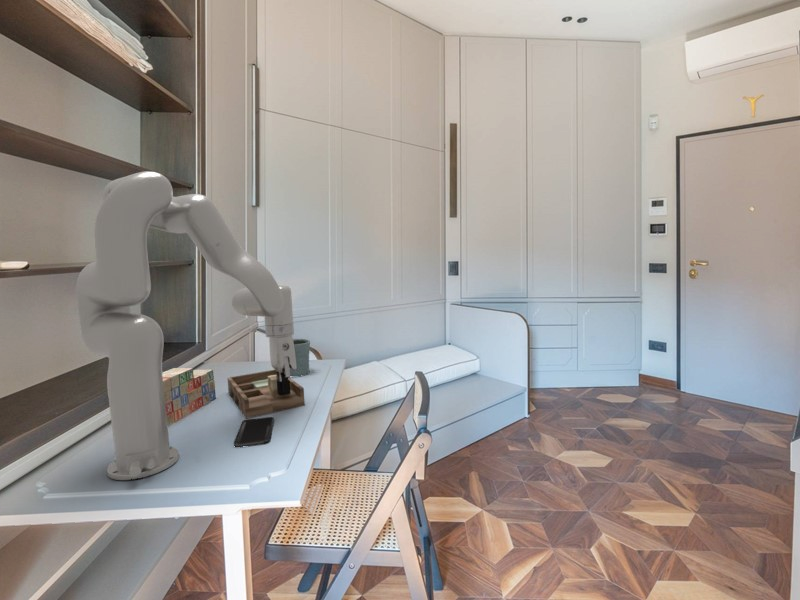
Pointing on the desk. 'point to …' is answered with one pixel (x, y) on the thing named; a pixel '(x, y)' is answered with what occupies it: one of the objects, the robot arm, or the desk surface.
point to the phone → (254, 432)
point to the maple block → (272, 386)
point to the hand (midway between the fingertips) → (284, 393)
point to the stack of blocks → (186, 391)
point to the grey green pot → (301, 357)
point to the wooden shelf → (262, 394)
